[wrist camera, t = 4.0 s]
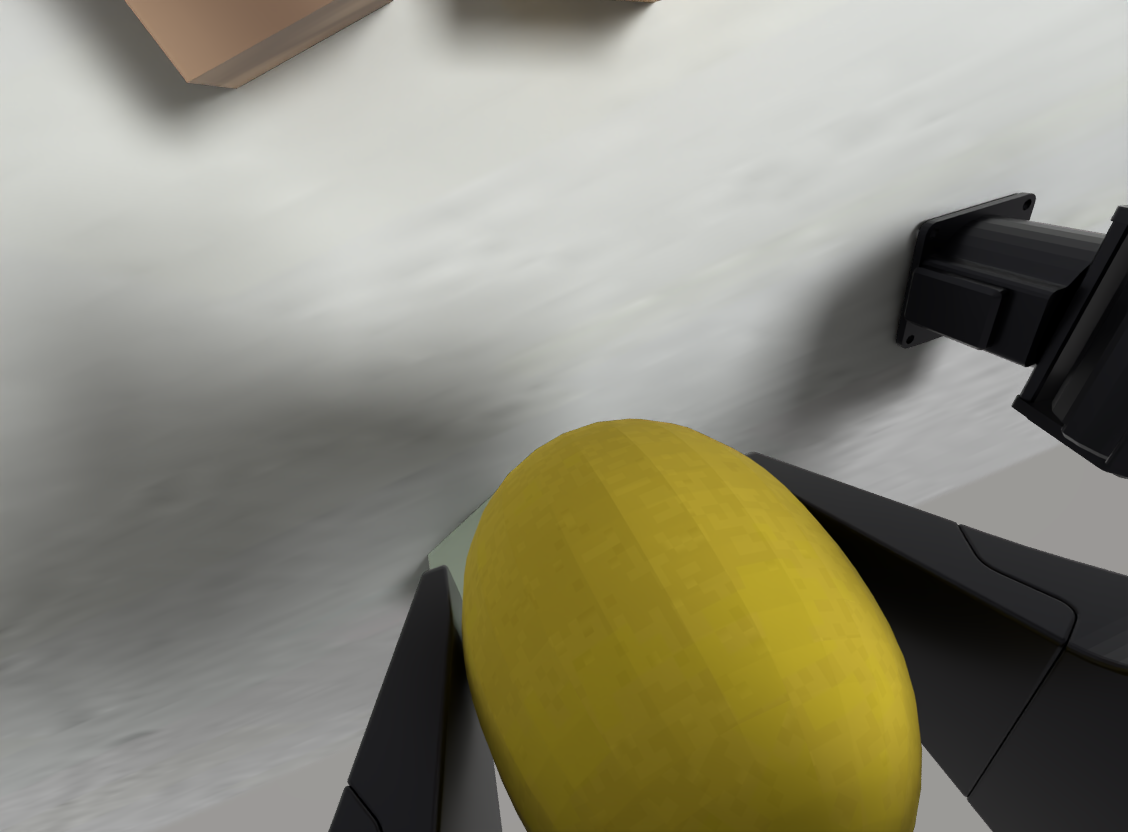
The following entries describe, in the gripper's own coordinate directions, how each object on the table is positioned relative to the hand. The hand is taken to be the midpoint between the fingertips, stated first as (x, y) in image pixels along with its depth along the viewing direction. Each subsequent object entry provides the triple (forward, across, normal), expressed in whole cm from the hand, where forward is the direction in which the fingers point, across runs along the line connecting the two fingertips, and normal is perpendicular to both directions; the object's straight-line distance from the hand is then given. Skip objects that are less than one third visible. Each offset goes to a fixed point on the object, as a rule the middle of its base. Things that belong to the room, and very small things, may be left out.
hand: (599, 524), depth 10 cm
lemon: (+2, 0, 0) cm, 2 cm away
